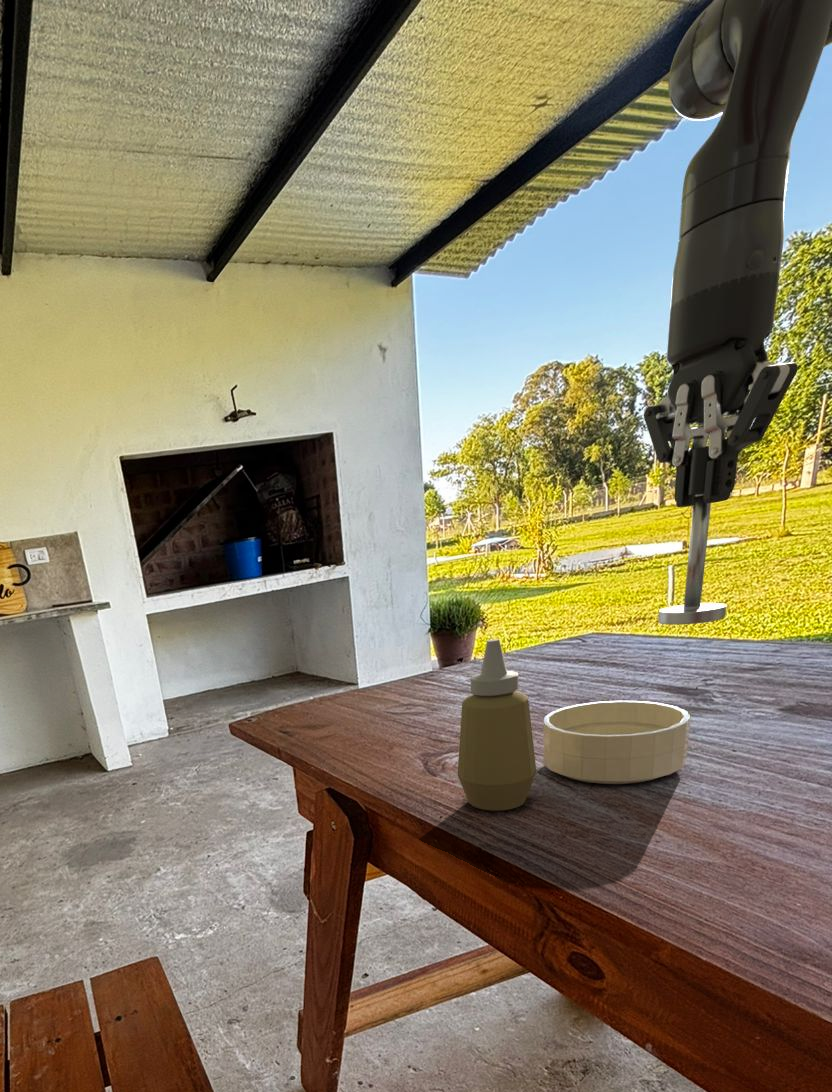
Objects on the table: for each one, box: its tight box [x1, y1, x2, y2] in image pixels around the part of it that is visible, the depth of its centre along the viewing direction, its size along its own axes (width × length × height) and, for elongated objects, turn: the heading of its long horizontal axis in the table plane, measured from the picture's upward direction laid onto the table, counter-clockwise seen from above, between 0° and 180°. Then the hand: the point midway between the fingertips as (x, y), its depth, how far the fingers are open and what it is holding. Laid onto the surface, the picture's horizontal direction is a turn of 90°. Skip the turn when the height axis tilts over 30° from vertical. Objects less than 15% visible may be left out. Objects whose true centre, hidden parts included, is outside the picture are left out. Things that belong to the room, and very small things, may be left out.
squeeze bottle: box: [457, 638, 537, 812], centre depth 66 cm, size 8×8×18 cm
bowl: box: [542, 700, 692, 785], centre depth 71 cm, size 14×14×6 cm
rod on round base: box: [657, 445, 727, 626], centre depth 61 cm, size 6×6×16 cm
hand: (701, 503), depth 60 cm, fingers closed on rod on round base, 2 cm apart
